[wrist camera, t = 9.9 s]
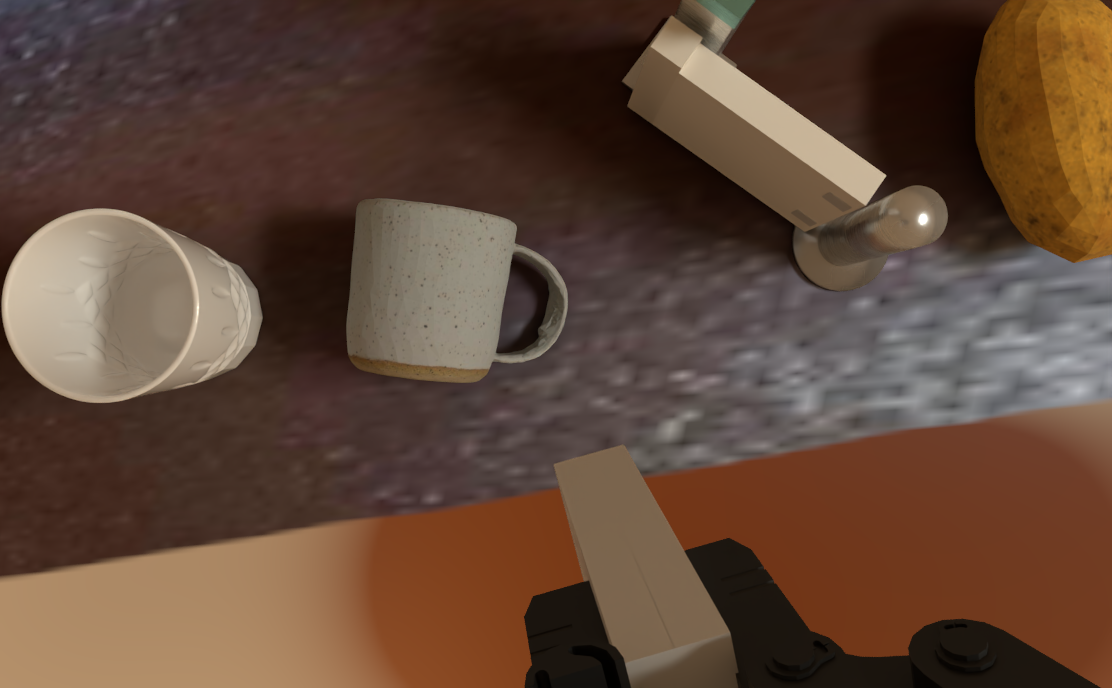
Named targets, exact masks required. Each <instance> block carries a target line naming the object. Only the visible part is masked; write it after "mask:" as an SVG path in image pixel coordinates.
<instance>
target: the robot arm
mask: <svg viewBox="0 0 1112 688" xmlns="http://www.w3.org/2000/svg"><path fill="white" fill-rule="evenodd" d="M554 468H555V472H556V476H557V480H558V484H559V487H560V491H561V495H562V499H563V502H564V507H565V510H566V514H567V518H568V522H569V526H570V529H571V534H572V537H573V541H574V545H575V549H576V553H577V557H578V560H579V564H580V568H581V572H582V576H583V579H584V582H581V583H578V584H574V585H571V586H567V587H564V588H561V589H557V590H554V591H550V592H547V593H544V594H540V595H536V596H533V598H532V600H531V603H530V605H529V607H528V609H527V612H526V614H525V616H524V619H525V625H526V631H527V637H528V643H529V649H530V654H531V661H532V666H531V667H530V669H529V670H528V672H527V674H526V680H525V688H1100V687H1098V686H1097V685H1095V684H1093V683H1092V682H1090V681H1088V680H1087V679H1085V678H1083V677H1082V676H1080V675H1078V674H1077V673H1075V672H1073V671H1071V670H1069V669H1068V668H1066V667H1065V666H1063V665H1061V664H1060V663H1058V662H1056V661H1055V660H1053V659H1051V658H1049V657H1048V656H1046V655H1044V654H1043V653H1041V652H1039V651H1038V650H1036V649H1034V648H1032V647H1031V646H1029V645H1027V644H1026V643H1024V642H1022V641H1021V640H1019V639H1017V638H1016V637H1014V636H1012V635H1010V634H1009V633H1007V632H1005V631H1004V630H1001V629H999V628H997V627H994V626H992V625H990V624H987V623H985V622H979V621H973V620H966V619H954V620H942V621H938V622H935V623H932V624H930V625H926V626H924V627H923V628H922V629H921V630H920V631H918V632H917V633H916V634H914V635H913V637H912V639H911V642H910V645H909V647H908V650H909V656H892V657H891V656H890V657H859V656H854V655H848V654H845V653H844V651H843V650H842V648H841V647H839V646H838V645H837V644H836V643H835V642H834V641H832V640H831V639H830V638H828V637H826V636H823V635H820V634H818V633H815V632H812V631H810V630H809V628H808V627H807V626H806V624H805V623H804V622H803V620H802V619H801V617H800V616H799V615H798V613H797V612H796V611H795V609H794V608H793V606H792V605H791V604H790V602H789V601H788V600H787V598H786V597H785V595H784V594H783V593H782V591H781V590H780V589H779V587H778V586H777V584H774V581H773V579H772V577H771V576H770V575H769V573H768V572H767V571H766V570H764V567H763V565H762V564H761V562H760V561H759V560H758V558H757V557H756V555H755V554H754V553H753V551H752V550H751V549H749V548H748V547H745V546H744V545H741V544H740V543H738V542H736V541H734V540H732V539H730V538H727V539H723V540H720V541H716V542H713V543H709V544H706V545H702V546H699V547H695V548H692V549H688V550H686V551H684V550H683V548H682V546H681V545H680V543H679V541H678V539H677V538H676V536H675V534H674V532H673V530H672V529H671V527H670V525H669V523H668V522H667V520H666V518H665V517H664V515H663V513H662V512H661V509H660V508H659V506H658V504H657V502H656V501H655V499H654V497H653V495H652V494H651V492H650V490H649V488H648V486H647V485H646V483H645V481H644V479H643V478H642V476H641V474H640V472H639V471H638V469H637V467H636V465H635V463H634V462H633V460H632V458H631V456H630V455H629V453H628V451H627V449H626V448H625V446H624V445H621V446H617V447H613V448H610V449H606V450H602V451H599V452H595V453H592V454H588V455H584V456H581V457H577V458H574V459H570V460H566V461H563V462H559V463H556V464H554Z"/></svg>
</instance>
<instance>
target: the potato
mask: <svg viewBox="0 0 1112 688" xmlns="http://www.w3.org/2000/svg"><path fill="white" fill-rule="evenodd" d="M975 131H976V143H977V146H978V149H979V153H980V156H981V159H982V162H983V165H984V169H985V170H986V172H987V174H988V176H989V178H990V179H991V181H992V183H993V185H994V187H995V189H996V190H997V192H998V194H999V196H1000V198H1001V200H1002V202H1003V205H1004V207H1005V209H1006V211H1007V213H1008V215H1009V217H1010V220H1011V221H1012V222H1013V224H1014V225H1015V226H1016V227H1017V229H1018V230H1019V231H1020V232H1021V234H1022V235H1023V236H1024V237H1025V239H1026V240H1027V241H1028V242H1029V243H1031V244H1034V245H1036V246H1039V247H1041V248H1043V249H1045V250H1047V251H1049V252H1051V253H1054V254H1056V255H1058V256H1060V257H1062V258H1064V259H1066V260H1068V261H1071V262H1073V263H1076V262H1080V261H1084V260H1089V259H1093V258H1098V257H1102V256H1106V255H1111V254H1112V11H1111V10H1110V9H1109V8H1108V7H1107V6H1106V5H1104V4H1103V3H1102V2H1101V1H1100V0H1008V1H1007V2H1005V3H1004V4H1003V5H1002V6H1001V7H1000V9H999V11H998V12H997V14H996V16H995V18H994V20H993V21H992V23H991V25H990V27H989V29H988V30H987V32H986V34H985V36H984V40H983V45H982V49H981V54H980V59H979V63H978V68H977V73H976V77H975Z"/></svg>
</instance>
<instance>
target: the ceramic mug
mask: <svg viewBox="0 0 1112 688" xmlns="http://www.w3.org/2000/svg"><path fill="white" fill-rule="evenodd" d="M516 230H517V227H516V225H515V224H514V223H513V222H511V221H510V220H508V219H505V218H502V217H499V216H495V215H491V214H487V213H483V212H477V211H473V210H468V209H463V208H457V207H453V206H445V205H437V204H431V203H423V202H412V201H404V200H395V199H381V198H380V199H366V200H363V201H361V202H359V204H358V206H357V210H356V223H355V236H354V246H353V256H352V268H351V283H350V297H349V305H348V314H347V324H346V333H347V349H348V355H349V358H350V360H351V362H352V363H353V364H354V365H355V366H356V367H357V368H358V369H361V370H363V371H367V372H371V373H376V374H381V375H387V376H394V377H401V378H407V379H416V380H427V381H440V382H455V383H469V382H476V381H479V380H481V379H482V378H483V377H484V376H485V375H487V374H488V371H489V368H490V366H491V363H492V362H502V363H516V362H524V361H527V360H531V359H534V358H536V357H539V356H540V355H542V354H543V353H544V352H545V351H547V350H548V349H549V348H550V347H551V346H552V345H553V344H554V343H555V342H556V340H557V338H558V336H559V335H560V333H561V331H562V328H563V326H564V323H565V319H566V313H567V307H568V294H567V289H566V286H565V283H564V281H563V279H562V277H561V276H560V274H559V273H558V271H557V270H556V268H555V267H554V266H553V265H552V264H551V263H550V262H549V261H548V260H547V259H545V258H544V257H542V256H541V255H539V254H538V253H536V252H535V251H533V250H530V249H528V248H526V247H524V246H521V245H518V244H515V243H514V242H515V237H516ZM512 254H514V255H517V256H519V257H521V258H524V259H525V260H527V261H529V262H530V263H531V264H533V265H534V266H536V267H537V268H538V269H539V270H540V271H541V272H542V274H543V275H544V276H545V278H546V280H547V282H548V285H549V286H548V290H549V299H548V303H547V308H546V312H545V317H544V320H543V323H542V325H541V326H540V327H539V328H538V335H539V338H538V339H537V340H536V341H535V342H534V343H533V344H531V345H530V346H528V347H526V348H525V349H523V350H521V351H514V352H511V353H495V352H496V348H497V344H498V339H499V332H500V324H501V315H502V309H503V303H504V297H505V293H506V288H507V283H508V278H509V272H510V265H511V260H512Z"/></svg>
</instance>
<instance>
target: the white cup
mask: <svg viewBox="0 0 1112 688" xmlns="http://www.w3.org/2000/svg"><path fill="white" fill-rule="evenodd" d="M1 310H2V320H3V326H4V330H5V334H6V337H7V339H8V342H9V344H10V347H11V349H12V351H13V352H14V354H15V356H16V357H17V359H18V360H19V362H20V363H21V365H22V366H23V367H24V368H25V369H26V371H27V372H28V373H29V374H30V375H31V376H32V377H33V378H35V379H36V380H37V381H38V382H40V383H41V384H42V385H44V386H45V387H47V388H48V389H50V390H52V391H54V392H56V393H58V394H60V395H62V396H65V397H68V398H71V399H74V400H78V401H83V402H91V403H109V402H117V401H122V400H127V399H131V398H136V397H141V396H145V395H150V394H155V393H160V392H165V391H169V390H174V389H178V388H181V387H185V386H188V385H192V384H196V383H199V382H202V381H204V380H209V379H212V378H214V377H216V376H218V375H221V374H223V373H225V372H228V371H230V370H232V369H234V368H236V367H237V366H238V365H239V364H240V363H241V362H242V361H243V359H244V358H245V357H246V356H247V355H248V354H249V352H250V351H251V350H252V349H253V348H254V347H255V345H256V342H257V338H258V334H259V331H260V327H261V323H262V319H263V316H262V311H261V305H260V300H259V295H258V290H257V288H256V287H255V286H254V284H253V283H252V282H251V280H250V279H249V278H248V276H247V275H246V274H245V272H244V271H243V270H242V268H241V267H240V266H238V265H237V264H235V263H233V262H231V261H229V260H227V259H225V258H223V257H221V256H219V255H218V254H217V253H216V252H214V251H213V250H211V249H209V248H207V247H205V246H203V245H201V244H200V243H198V242H195V241H193V240H191V239H189V238H188V237H186V236H183V235H181V234H179V233H176V232H174V231H172V230H169V229H167V228H165V227H162V226H160V225H158V224H156V223H153V222H151V221H149V220H147V219H144V218H142V217H140V216H137V215H135V214H132V213H129V212H125V211H120V210H114V209H87V210H81V211H76V212H73V213H69V214H66V215H64V216H61V217H59V218H57V219H55V220H53V221H51V222H49V223H48V224H46V225H45V226H43V227H42V228H40V229H39V230H38V231H37V232H35V233H34V234H33V235H32V236H31V237H30V238H29V239H28V240H27V241H26V242H25V243H24V245H23V246H22V247H21V249H20V250H19V251H18V253H17V254H16V256H15V258H14V259H13V261H12V263H11V265H10V267H9V270H8V272H7V275H6V278H5V282H4V286H3V292H2V302H1Z"/></svg>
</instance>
